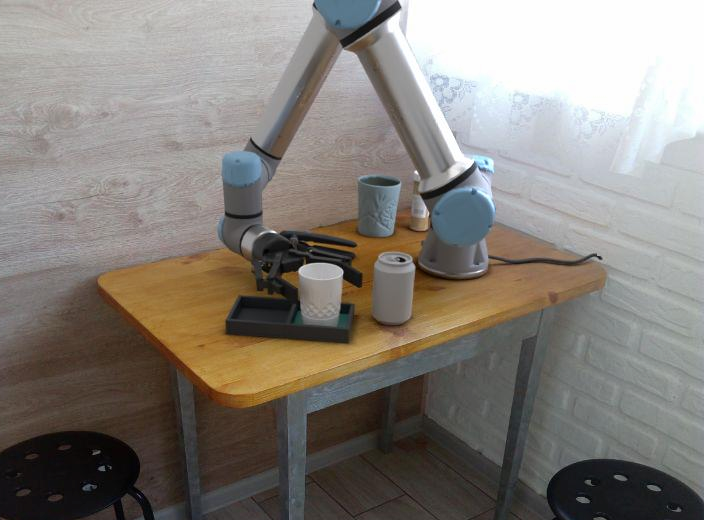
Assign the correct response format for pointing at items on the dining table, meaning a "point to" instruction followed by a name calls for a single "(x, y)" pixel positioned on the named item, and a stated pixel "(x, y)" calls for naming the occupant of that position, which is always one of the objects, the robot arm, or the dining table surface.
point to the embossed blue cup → (377, 204)
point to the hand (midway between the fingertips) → (329, 288)
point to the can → (393, 288)
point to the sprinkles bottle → (418, 208)
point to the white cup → (320, 293)
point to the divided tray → (284, 320)
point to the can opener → (301, 238)
